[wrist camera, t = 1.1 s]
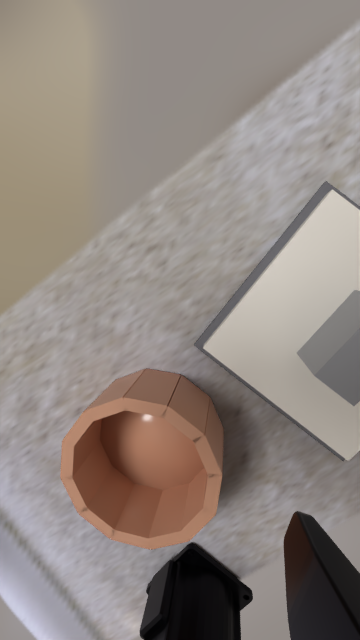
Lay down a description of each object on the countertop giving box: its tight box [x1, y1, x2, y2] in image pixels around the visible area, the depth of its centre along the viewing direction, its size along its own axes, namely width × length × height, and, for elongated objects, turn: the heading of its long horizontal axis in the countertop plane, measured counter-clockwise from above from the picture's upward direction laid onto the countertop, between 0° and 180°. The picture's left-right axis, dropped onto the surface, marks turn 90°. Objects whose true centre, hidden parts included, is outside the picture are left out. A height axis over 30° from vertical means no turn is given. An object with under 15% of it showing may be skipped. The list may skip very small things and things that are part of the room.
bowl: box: [60, 369, 224, 550], centre depth 21 cm, size 10×10×5 cm
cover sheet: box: [203, 189, 360, 461], centre depth 17 cm, size 12×12×5 cm
